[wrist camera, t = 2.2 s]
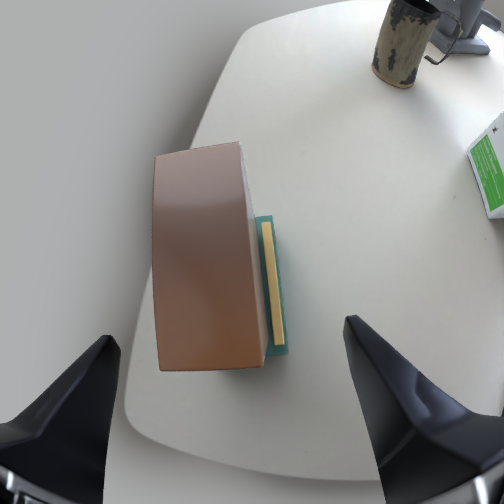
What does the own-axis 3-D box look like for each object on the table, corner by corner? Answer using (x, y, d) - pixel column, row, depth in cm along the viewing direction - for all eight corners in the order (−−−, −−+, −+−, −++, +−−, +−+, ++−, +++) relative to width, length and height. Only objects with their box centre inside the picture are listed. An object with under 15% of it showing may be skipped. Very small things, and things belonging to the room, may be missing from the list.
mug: (361, 65, 25) (382, -17, 14) (384, 53, 26) (406, -19, 14) (416, 106, 24) (457, 27, 12) (434, 91, 24) (471, 21, 13)
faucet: (475, 87, 24) (530, -6, 5) (406, 23, 28) (431, -67, 9) (515, 82, 25) (557, 18, 6) (459, 27, 29) (487, -39, 9)
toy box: (286, 348, 20) (289, 355, 16) (215, 355, 20) (202, 362, 16) (272, 229, 22) (272, 210, 18) (205, 237, 22) (192, 220, 18)
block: (269, 340, 17) (263, 367, 7) (221, 344, 17) (159, 371, 7) (257, 231, 19) (239, 140, 9) (212, 236, 19) (154, 155, 9)
